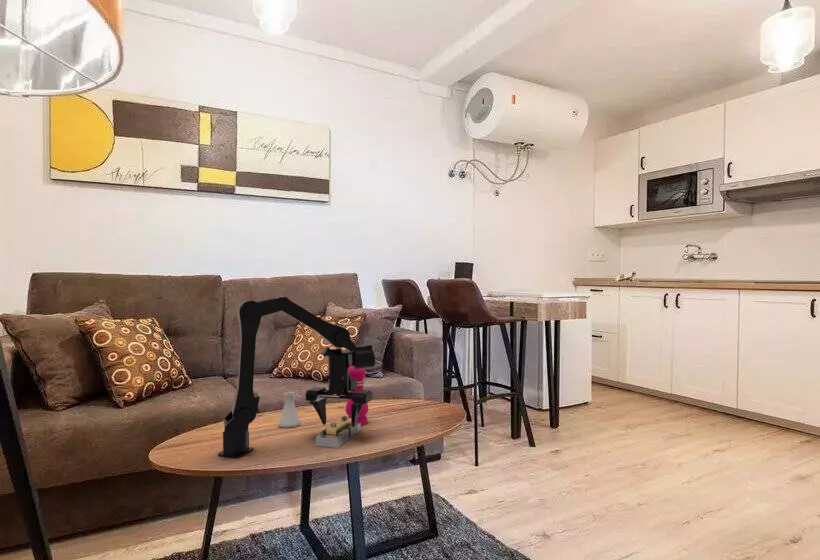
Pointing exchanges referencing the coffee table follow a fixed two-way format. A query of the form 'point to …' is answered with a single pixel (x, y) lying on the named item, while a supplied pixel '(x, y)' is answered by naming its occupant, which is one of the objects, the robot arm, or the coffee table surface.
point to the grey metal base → (337, 440)
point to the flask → (289, 412)
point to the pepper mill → (359, 376)
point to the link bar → (338, 426)
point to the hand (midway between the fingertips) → (339, 425)
